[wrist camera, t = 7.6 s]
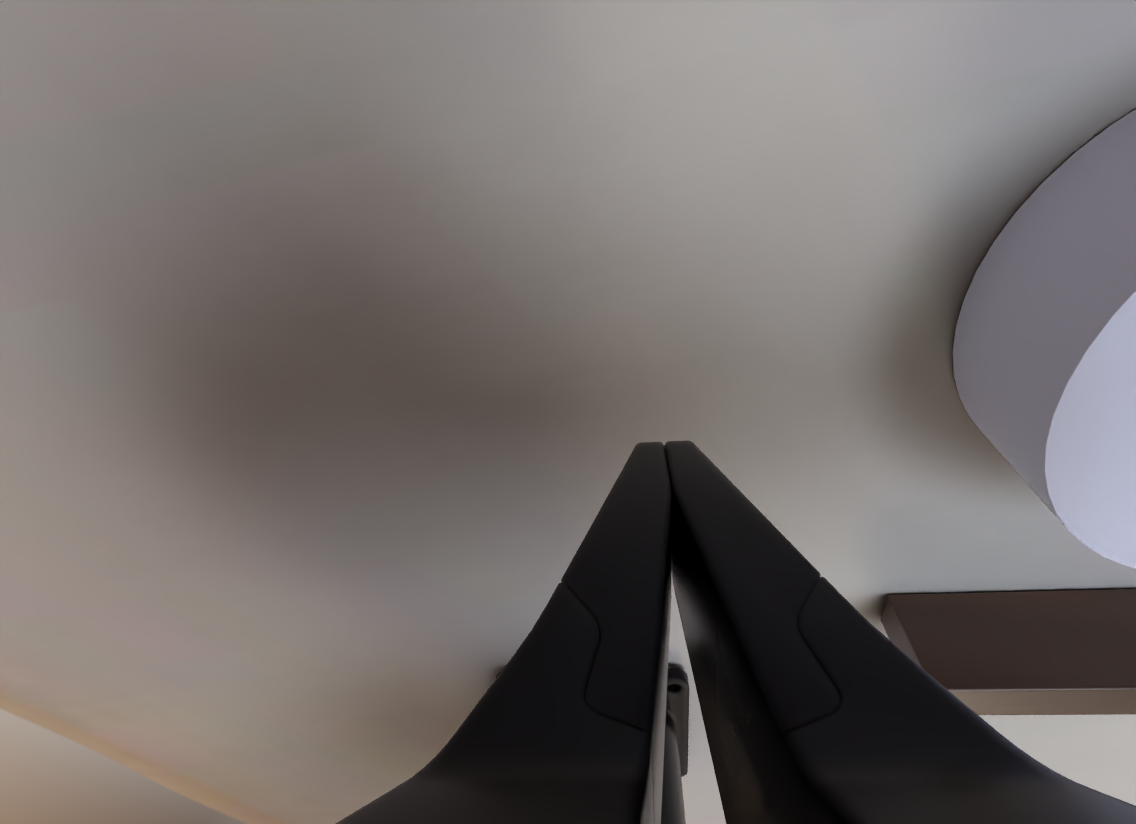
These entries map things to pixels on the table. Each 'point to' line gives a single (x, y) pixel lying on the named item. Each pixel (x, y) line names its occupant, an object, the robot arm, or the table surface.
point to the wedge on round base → (1064, 343)
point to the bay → (1024, 648)
